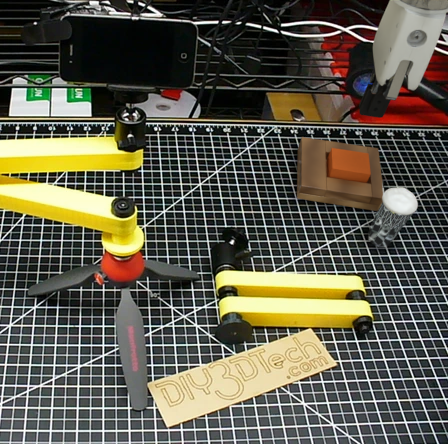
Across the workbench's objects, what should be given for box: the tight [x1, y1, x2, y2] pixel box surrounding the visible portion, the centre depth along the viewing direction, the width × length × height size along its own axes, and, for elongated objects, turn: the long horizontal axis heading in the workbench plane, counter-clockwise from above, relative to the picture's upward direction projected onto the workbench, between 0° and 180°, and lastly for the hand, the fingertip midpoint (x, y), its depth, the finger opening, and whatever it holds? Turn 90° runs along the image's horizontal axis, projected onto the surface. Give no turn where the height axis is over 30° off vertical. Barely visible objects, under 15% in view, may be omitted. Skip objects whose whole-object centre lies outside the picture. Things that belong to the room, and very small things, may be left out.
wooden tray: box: [296, 136, 383, 212], centre depth 89 cm, size 12×11×3 cm
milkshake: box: [367, 180, 419, 248], centre depth 79 cm, size 5×5×10 cm
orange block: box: [326, 148, 371, 183], centre depth 88 cm, size 6×5×3 cm
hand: (370, 112), depth 80 cm, fingers closed
